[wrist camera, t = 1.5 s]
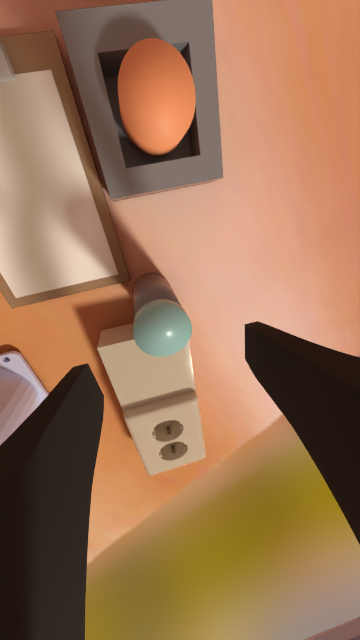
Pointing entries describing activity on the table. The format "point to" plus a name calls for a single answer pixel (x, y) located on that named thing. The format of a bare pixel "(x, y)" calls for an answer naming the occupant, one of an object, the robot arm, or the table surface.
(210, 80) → the grey egg holder
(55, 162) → the clipboard
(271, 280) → the table surface
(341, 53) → the table surface
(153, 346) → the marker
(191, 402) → the electrical outlet
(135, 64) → the button
